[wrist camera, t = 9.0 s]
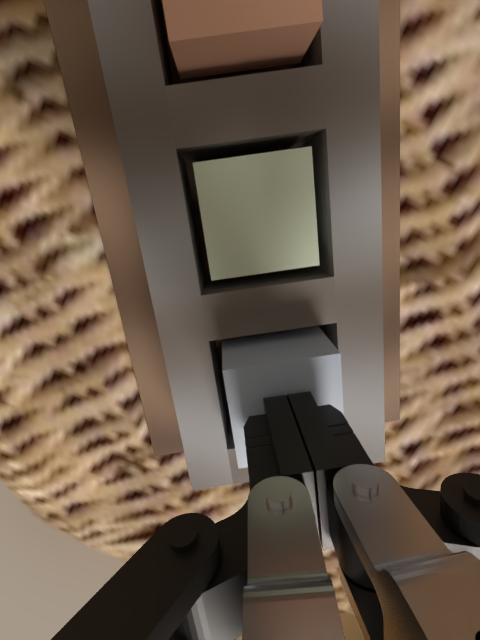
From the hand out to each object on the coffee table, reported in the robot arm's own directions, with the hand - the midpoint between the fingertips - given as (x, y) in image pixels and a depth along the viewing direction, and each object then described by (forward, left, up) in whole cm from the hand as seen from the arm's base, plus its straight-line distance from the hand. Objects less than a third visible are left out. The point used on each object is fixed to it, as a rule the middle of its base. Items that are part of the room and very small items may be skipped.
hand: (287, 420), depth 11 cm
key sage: (-6, 0, -4) cm, 8 cm away
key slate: (0, 0, -3) cm, 3 cm away
